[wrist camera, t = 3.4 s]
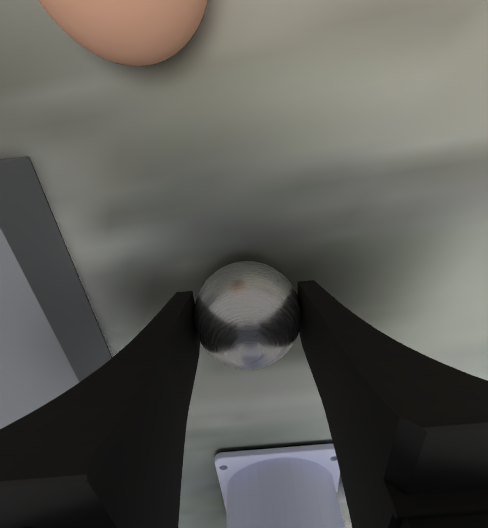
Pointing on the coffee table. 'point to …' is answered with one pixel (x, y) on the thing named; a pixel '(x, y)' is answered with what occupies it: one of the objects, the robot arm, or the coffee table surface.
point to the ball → (129, 26)
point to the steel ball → (247, 315)
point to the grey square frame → (39, 302)
